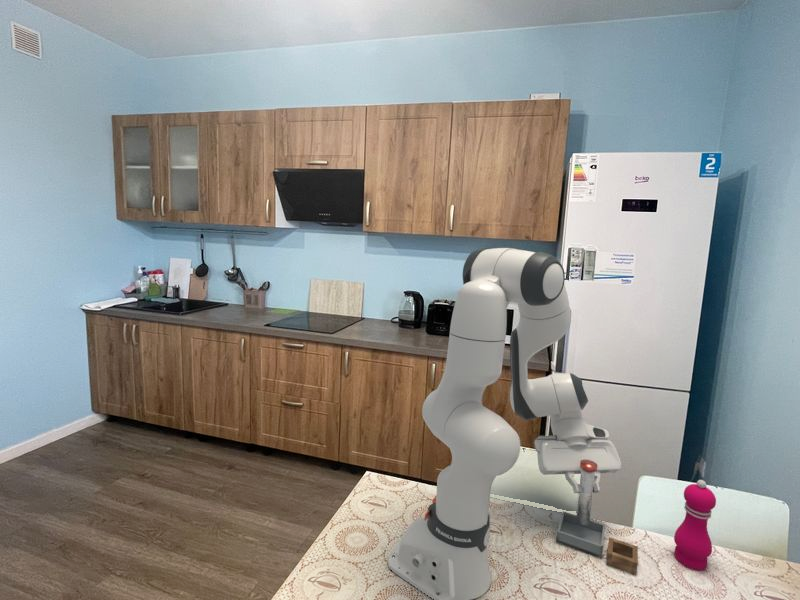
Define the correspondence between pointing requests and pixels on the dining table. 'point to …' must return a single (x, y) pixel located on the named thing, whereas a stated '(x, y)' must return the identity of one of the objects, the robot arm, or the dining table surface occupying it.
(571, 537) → the tray
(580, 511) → the pin
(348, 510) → the dining table surface
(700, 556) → the pepper mill
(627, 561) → the socket block
